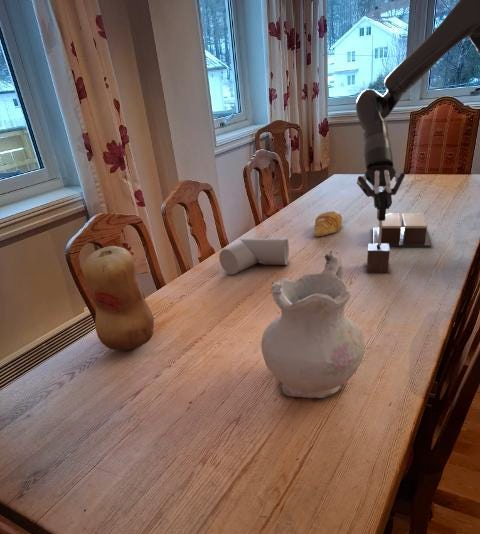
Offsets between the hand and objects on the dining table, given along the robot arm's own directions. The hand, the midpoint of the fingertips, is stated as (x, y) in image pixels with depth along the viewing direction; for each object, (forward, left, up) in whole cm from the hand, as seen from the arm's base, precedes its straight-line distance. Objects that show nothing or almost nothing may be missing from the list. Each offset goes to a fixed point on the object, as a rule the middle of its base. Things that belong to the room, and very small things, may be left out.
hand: (383, 207), depth 119 cm
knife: (0, -2, -13) cm, 13 cm away
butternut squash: (+58, +48, -20) cm, 78 cm away
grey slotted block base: (-8, -29, -19) cm, 36 cm away
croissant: (+18, -38, -20) cm, 47 cm away
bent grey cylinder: (+37, -2, -20) cm, 42 cm away
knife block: (0, -2, -19) cm, 20 cm away
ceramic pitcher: (+13, +54, -20) cm, 59 cm away
